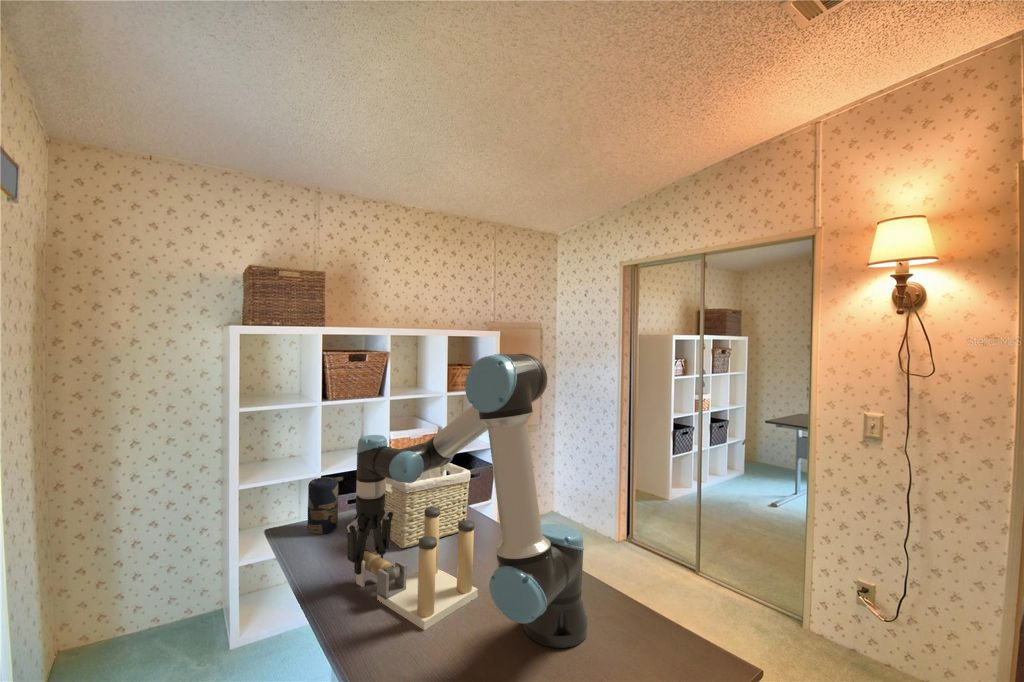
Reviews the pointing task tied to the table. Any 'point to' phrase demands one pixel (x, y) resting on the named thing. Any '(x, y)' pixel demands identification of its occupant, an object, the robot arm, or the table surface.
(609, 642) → the table surface
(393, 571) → the hinged leg
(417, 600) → the stool seat
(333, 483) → the canister
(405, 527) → the basket
